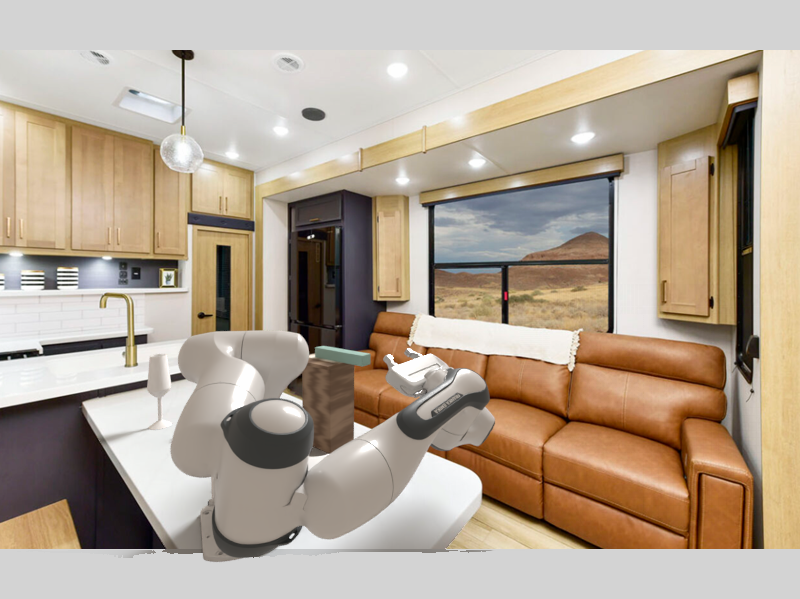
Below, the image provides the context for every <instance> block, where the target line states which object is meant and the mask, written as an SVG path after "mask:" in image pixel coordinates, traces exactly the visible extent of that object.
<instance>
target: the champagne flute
mask: <svg viewBox="0 0 800 599" xmlns="http://www.w3.org/2000/svg"><path fill="white" fill-rule="evenodd" d="M148 360H149V362H148V371H147V373H148V375H147V383H146V386H147V387H146V390H147V392H148V393H149V394H150V395H151V396H153V397H154V398H157V421H155V422H153V423H152V424H151V425H149V426H148V427H147V428H148V429H149V430H151V431H156V429H158V430H163V429H166V428H169V427H171V426H172V425H173V422H172V421H169V420H166V419H163V397H164V396H166V394H167V393H168V392H170V389H171V388H172V380H171V374H170V366H169V365H170V364H169V360H168V354H167V353H155V354H151V355H149V359H148ZM162 428H163V429H162Z"/></svg>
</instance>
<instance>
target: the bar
mask: <svg viewBox="0 0 800 599" xmlns="http://www.w3.org/2000/svg"><path fill="white" fill-rule="evenodd" d="M314 349H315V350H314V354H315V357H317V358H322V359H327V360H332V361H337V362H342V363H347V364H352V365H354V366H358V367H366V366H368V365H371V354H372V353H368V352H362V351H357V350H350V349H344V348H339V347H335V346H329V345H328V346H327V345H321V346H316V347H314Z"/></svg>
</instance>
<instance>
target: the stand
mask: <svg viewBox="0 0 800 599" xmlns="http://www.w3.org/2000/svg"><path fill="white" fill-rule="evenodd" d="M301 374H302V377H301V378H302V379H301V380H302V385H301V386H302V387H301V389H302V391H301V392H302V393H301V394H302V396H301V397H302V399H301V400H302V407H303V408H304V409H305V410H306V411H307V412H308V413H309V414H310V415H311V417H312V419H313V424H314V440H313V447H312V448H316V449H318V450H320V451H323V452H325V453H327V454H330V453H332V452H333V451H335V450H336V449H338V448H339V447H341V446H343V445H344V444H346V443H348V442H350V441H352V440H354V439H355V365H352V364H347V363H342V362H337V361H332V360H327V359H322V358H317V357H315V353H309V360H308V363H307V366H306V368H305V369H304V371H303V372H302V373H301Z"/></svg>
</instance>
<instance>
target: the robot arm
mask: <svg viewBox="0 0 800 599" xmlns="http://www.w3.org/2000/svg"><path fill="white" fill-rule="evenodd" d="M403 354H404V355H405V356H406V357H407V358H410V359H411V360H410V359H409V361H408V360H407V361H405V362H403V363H399V364H398V363H397V362H395V361H394V357H393V355H391V354H386V355H384V357H383V359H382V360H383V362H384V363H385V364H386V365H387V368H388V371H387V372H386V374H385V378H384V379H385V381H386V382H387V384H388V385H389V386H391V387H392V388H393V389H395V390H396V391H397V392H398V393H400V394H401V395H403V396H406V397H408V398H413V399H414V401H412V402H411V403H410V404H408V405H407V406H405V407H404V408H403V409H401V410H400V411H399V412H398V411H397V412H396V413H395V414H393V415H392V416H391V417H389V418H388V419H386V420H385V421H383V422H382V423H380V424H378V425H376V426H375V427H373V428H371V429H370V430H367V431H366V432H365V433H363V434H361V435H359V436H357V437H356V438H355V437H354V440H352V441H350V442H348V443H346V444H344V445H343V446H341V447H339V448H338V449H336V450H335V451H333V452H332V453H327V454H322V455H317V456H310V453H311V452H312V450H313V448H314V447H313V440H314V424H313V419H312V417H311V415H310V414H309V413H308V412H307V411H306V410H305V409H304V408H303V407H302V406H301V404H298V403H297V402H294V401H293V400H290V399H286V398H281V396H282V395H283V392H284V391H285V390H286V388H287V387H288V386H289V385H290V384H291V383H292V382H293V381H294V380H296V378H298V377H299V376H301V374H302V372H303V371H304V369H305V368H306V366H307V363H308V360H309V355H310V351H309V345H308V342H307V341H306V339H305V338H304V337H303V335H302V334H300V333H297V332H293V331H286V330H279V329H273V330H272V329H269V330H268V329H267V330H265V329H264V330H259V329H258V330H227V331H226V330H225V331H224V330H220V331H218V330H216V331H211V332H204V333H199V334H195V335H191V336H189V337H188V338H187V339H186V340H185V341H184V342H183V344H182V346H181V347H180V349H179V352H178V356H177V365H178V368H179V371H180V374H181V375H182V376H183V377H184V378H185V380H187V381H188V382H191V383H194V384H196V386H195V388H194V390H193V392H192V393H191V395H190V396H189V398H188V400H187V402H186V403H185V405H184V406H183V409H182V411H181V413H180V415H179V417H178V420H177V422H176V425H175V429H174V432H173V434H172V439H171V442H170V448H169V449H170V451H169V453H170V457H171V460H172V462H173V464H174V466H175V467H176V468H177V469H178V470H179V471H180V472H182V473H183V474H185V475H187V476H189V477H193V478H199V479H202V478H203V479H205V478H210V479H211V480H210V481H211V483H210V484H211V491H210V492H211V498H210V499H208V501H207V504H206V506H204V507H202V508H201V509H200V514H199V516H200V517H199V519H200V532H201V533H200V534H201V535H200V536H201V550H202V559H203V560H204V561H205V562H210V563H211V562H213V563H222V562H223V563H224V562H231V561H236V560H241V559H244V558H245V559H246V558H247V559H249V558H254V557H258V556H261V555H263V554H267V553H268V552H271V551H272V550H274V549H276V548H277V547H281V546H288V545H290V544H291V543H292V542H294V540H296V538H297V537H298V536H299V534H300V533H301V531H302V529H303V527H305V528H306V529H307V530H308V531H309V532H310V533H311V534H312V535H313V536H315V537H317V538H319V539H322V540H335V539H338V538H340V537H343V536H346V535H347V534H350V533H351V532H353V531H355V530H357V529H358V528H360V527H362V526H364V525H366V523H368V522H370V521H371V520H372V519H374V518H376V517H377V516H378V515H379V514H381V513H382V512H383V511H385V510H386V509H387V508H388V507H389V506H391V505H392V503H394V502H395V501H396V499H398V497H399V496H400V495H401V494H402V493H403V491H404V490H405V489H406V488H407V485H408V484H409V483H410V481H412V479H413V477H414V475H415V473H416V471H417V470H418V468H419V467H420V464H421V463H422V461H423V459H424V457H425V455H426V454H427V451H428V450H429V448H430V447H431V448H433V449H434V450H437V451H440V452H449V451H452V450H453V449H454V448H457V447H459V446H463V445H473V446H476V447H479V446H481V445H482V444H483V443H485V441H486V440H487V439H488V437H489V436H490V434H491V432H492V431H493V430H494V428H495V425H496V418H495V416H494V415H493V414H492V412H491V411H490V410H489V409H488V408H487V407H486V406H487V405H488V404H489V402H491V401H490V400H491V397H490V391H489V387H488V384H487V382H486V380H485V379H484V378H483V376H482V375H480V374H479V373H478V372H476V371H475V370H473V369H470V368H467V367H458V368H454V367H452V366H449V365H448V363H446V362H445V361H443V360H442V359H441V358H439V357H438V356H436V355H435V354H432V353H427V354H426V355H423V354H421V353H419V352H417V351H414V350H413V349H412V348H410V347H409V348H406V349H405V351H404V352H403ZM293 534H294V535H293ZM292 535H293V536H292ZM291 536H292V537H291Z"/></svg>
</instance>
